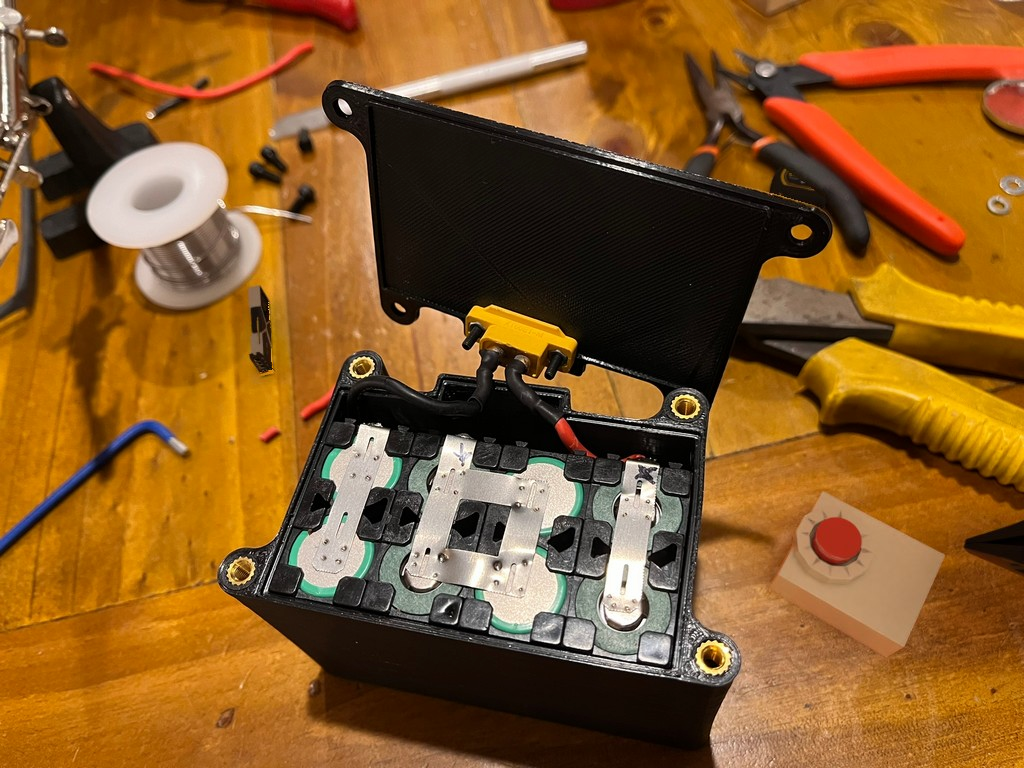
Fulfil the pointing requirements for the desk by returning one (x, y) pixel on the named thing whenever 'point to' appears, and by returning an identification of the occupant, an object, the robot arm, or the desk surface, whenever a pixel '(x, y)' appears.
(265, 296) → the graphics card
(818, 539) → the red button
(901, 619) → the switch block
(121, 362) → the desk surface
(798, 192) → the tape measure
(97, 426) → the desk surface
